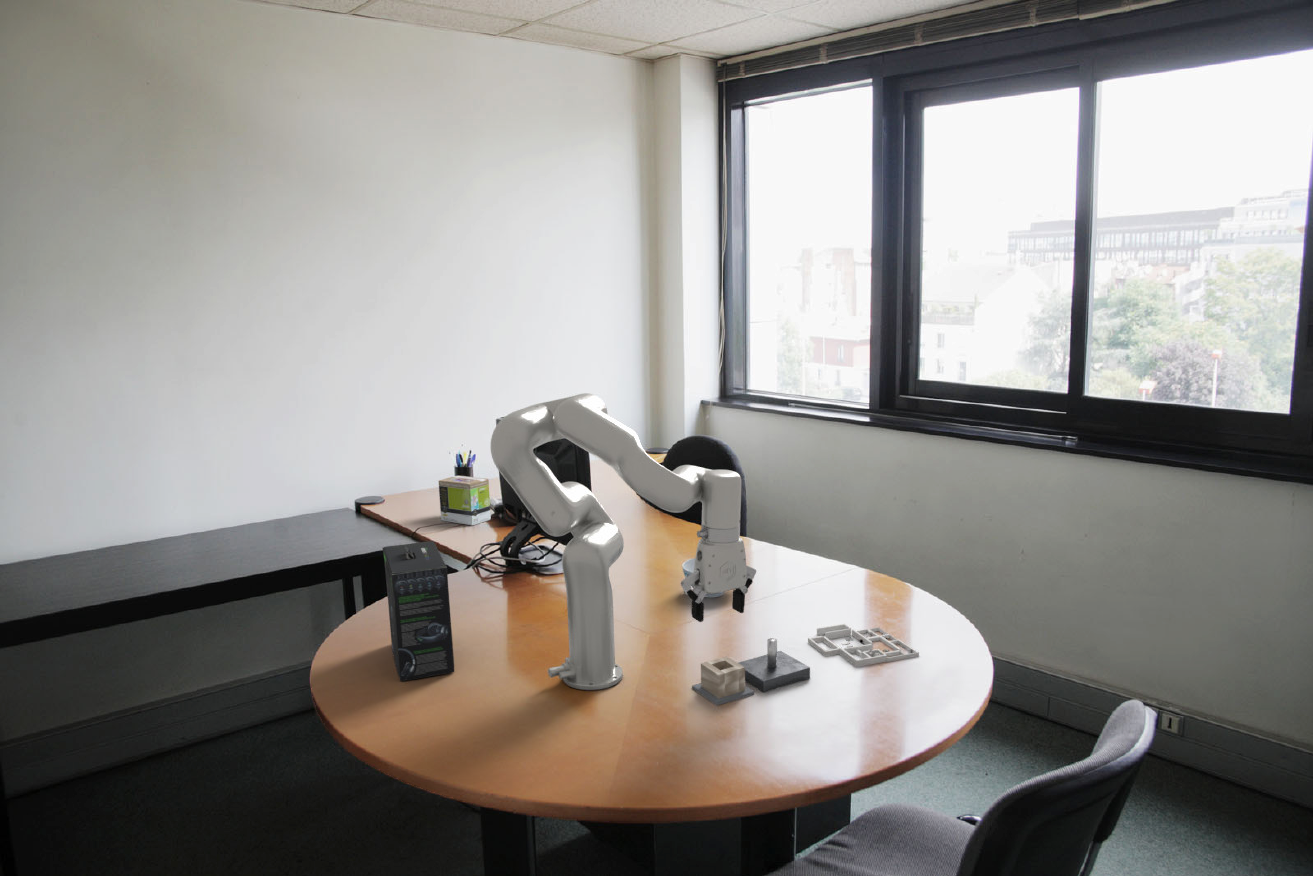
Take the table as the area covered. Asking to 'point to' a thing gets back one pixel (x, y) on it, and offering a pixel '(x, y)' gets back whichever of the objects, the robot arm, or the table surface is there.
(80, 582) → the table surface
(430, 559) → the headset box
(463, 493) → the tea box
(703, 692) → the mat
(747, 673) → the post stand
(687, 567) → the chinaware
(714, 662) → the collar
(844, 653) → the floor plan model
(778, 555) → the table surface
